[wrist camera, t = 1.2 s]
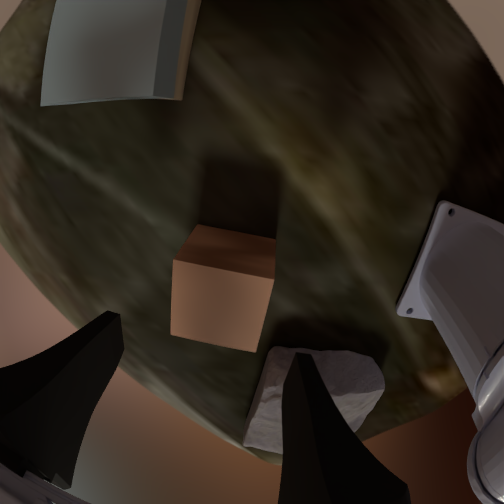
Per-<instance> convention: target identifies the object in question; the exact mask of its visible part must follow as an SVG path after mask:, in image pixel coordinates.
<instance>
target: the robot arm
mask: <svg viewBox="0 0 504 504" xmlns="http://www.w3.org/2000/svg"><path fill="white" fill-rule="evenodd" d="M451 208H452V212H451V214H448V212H449V210H450V209H451ZM409 308H411V309H410V310H409V311H407V310H408V309H409ZM395 309H396V312H397V314H398V315H400V316H405V317H412V318H420V319H427V320H433V322H434V323H435V325H436V327H437V329H438V330H439V332H440V334H441V336H442V337H443V339H444V341H445V343H446V345H447V347H448V348H449V350H450V352H451V354H452V356H453V358H454V360H455V362H456V363H457V365H458V367H459V369H460V371H461V373H462V375H463V377H464V379H465V381H466V383H467V385H468V387H469V390H470V392H471V394H472V396H473V398H474V400H475V402H476V409H475V411H474V413H473V414H472V417H473V419H474V422H475V424H476V427H477V429H478V432H477V433H476V435H475V437H474V439H473V440H472V443H471V446H470V448H469V453H468V458H467V470H468V477H469V481H470V484H471V486H472V489H473V491H474V493H475V494H476V496H477V497H478V499H479V500H480V501H481V502H482V503H483V504H504V224H503V223H500V222H498V221H496V220H493V219H491V218H489V217H486V216H484V215H481V214H479V213H476V212H474V211H471V210H469V209H466V208H464V207H461V206H459V205H456V204H453V203H451V202H448V201H444V200H443V201H440V202H439V203H438V205H437V207H436V210H435V213H434V216H433V219H432V221H431V224H430V227H429V230H428V232H427V235H426V238H425V240H424V243H423V246H422V248H421V251H420V253H419V256H418V258H417V261H416V263H415V265H414V268H413V270H412V272H411V275H410V277H409V279H408V282H407V284H406V286H405V288H404V290H403V293H402V295H401V297H400V299H399V301H398V303H397V305H396V308H395ZM123 351H124V343H123V335H122V327H121V318H120V314H118V313H114V312H111V311H106V312H104V313H103V314H101V315H100V316H98V317H97V318H95V319H94V320H92V321H91V322H90V323H88V324H87V325H85V326H84V327H82V328H81V329H79V330H78V331H76V332H75V333H73V334H72V335H70V336H69V337H67V338H66V339H64V340H62V341H60V342H59V343H57V344H56V345H54V346H52V347H51V348H49V349H47V350H45V351H43V352H41V353H39V354H37V355H35V356H33V357H30V358H28V359H26V360H23V361H20V362H18V363H15V364H13V365H9V366H6V367H3V368H0V504H53V503H52V502H54V503H56V504H90V503H88V502H85V501H84V500H81V499H79V498H77V497H75V496H73V495H71V494H69V493H67V492H65V491H63V490H61V489H59V488H57V487H55V486H53V485H52V484H54V485H56V486H58V487H60V488H62V489H69V488H71V485H72V479H73V473H74V469H75V464H76V460H77V457H78V453H79V450H80V446H81V443H82V440H83V437H84V434H85V431H86V428H87V426H88V423H89V420H90V418H91V415H92V413H93V411H94V409H95V407H96V405H97V403H98V401H99V399H100V397H101V396H102V394H103V392H104V390H105V388H106V387H107V385H108V383H109V381H110V379H111V378H112V376H113V374H114V372H115V370H116V368H117V366H118V364H119V361H120V359H121V356H122V354H123ZM281 411H282V440H283V462H282V474H281V483H280V491H279V499H278V504H411V500H410V493H409V489H408V486H407V484H406V483H405V482H403V481H402V480H401V479H399V478H398V477H397V476H395V475H394V474H393V473H392V472H390V471H389V470H388V469H387V468H386V467H385V466H384V465H383V464H381V463H380V462H379V461H378V460H377V459H376V458H375V457H374V455H373V454H372V453H371V452H370V451H369V450H368V449H367V448H366V447H365V446H364V445H363V443H362V442H361V441H360V440H359V438H358V437H357V436H356V435H355V433H354V432H353V431H352V429H351V428H350V426H349V425H348V424H347V422H346V421H345V419H344V418H343V416H342V414H341V413H340V411H339V409H338V408H337V406H336V404H335V403H334V401H333V399H332V397H331V395H330V393H329V391H328V389H327V388H326V386H325V383H324V381H323V379H322V377H321V375H320V373H319V371H318V368H317V366H316V364H315V361H314V359H313V357H312V355H311V354H306V353H299V352H296V353H295V356H294V358H293V361H292V363H291V366H290V368H289V371H288V373H287V376H286V378H285V381H284V383H283V392H282V404H281ZM44 480H46V481H48V482H49V483H48V482H46V481H44ZM50 483H52V484H50Z"/></svg>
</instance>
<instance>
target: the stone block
mask: <svg viewBox="0 0 504 504" xmlns="http://www.w3.org/2000/svg"><path fill="white" fill-rule="evenodd" d="M296 352H299V353H306V354H311V355H312V357H313V359H314V361H315V364H316V366H317V368H318V371H319V373H320V375H321V377H322V379H323V381H324V383H325V386H326V388H327V389H328V391H329V393H330V395H331V397H332V399H333V401H334V403H335V404H336V406H337V408H338V409H339V411H340V413H341V414H342V416H343V418H344V419H345V421H346V422H347V424H348V425H349V426H350V428H351V429H352V431H353V432H355V431H356V430H357V429H358V428H359V427H360V425H361V424H362V423H363V421H364V419H365V418H366V415H367V414H368V413H369V412H370V411H371V410H372V409H373V407H374V406H375V404H376V401H378V400H379V398H380V397H381V395H382V393H383V391H384V389H385V383H384V377H383V374H382V372H381V370H380V369H379V367H378V365H377V364H376V363H375V361H374V359H373V358H372V357H369V356H365V355H361V354H358V353H355V352H351V351H348V350H346V351H331V350H327V351H316V350H311V349H306V348H287V347H281V346H274V347H273V348H271V350H270V351H269V352H268V355H267V358H266V361H265V365H264V368H263V371H262V374H261V377H260V381H259V384H258V386H257V389H256V392H255V396H254V398H253V402H252V405H251V408H250V411H249V413H248V416H247V419H246V422H245V427H244V435H243V445H244V446H245V447H248V446H252V447H255V448H258V449H262V450H266V451H272V452H276V453H279V454H283V440H282V411H281V404H282V392H283V383H284V381H285V378H286V376H287V373H288V371H289V368H290V366H291V363H292V361H293V358H294V356H295V353H296Z"/></svg>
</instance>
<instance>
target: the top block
mask: <svg viewBox="0 0 504 504" xmlns="http://www.w3.org/2000/svg"><path fill="white" fill-rule="evenodd" d="M187 1H188V0H57V1H56V5H55V9H54V14H53V18H52V23H51V27H50V33H49V38H48V44H47V50H46V57H45V64H44V72H43V82H42V93H41V106H48V105H62V104H75V103H85V102H95V101H108V100H124V99H174V92H175V82H176V74H177V66H178V58H179V50H180V43H181V37H182V30H183V24H184V18H185V12H186V7H187Z"/></svg>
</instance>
